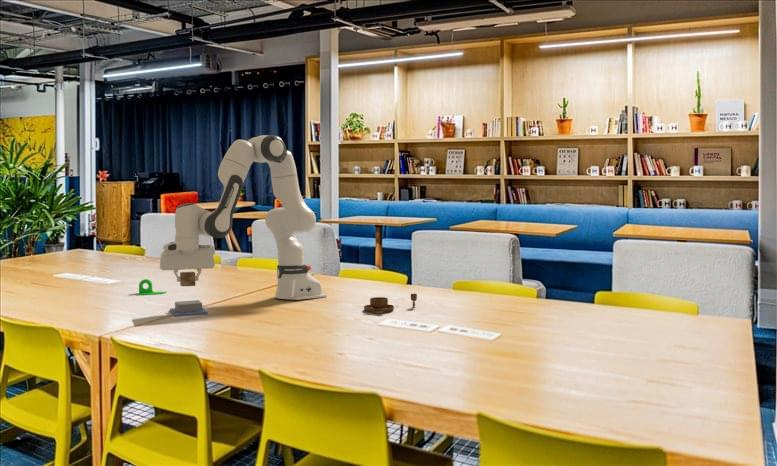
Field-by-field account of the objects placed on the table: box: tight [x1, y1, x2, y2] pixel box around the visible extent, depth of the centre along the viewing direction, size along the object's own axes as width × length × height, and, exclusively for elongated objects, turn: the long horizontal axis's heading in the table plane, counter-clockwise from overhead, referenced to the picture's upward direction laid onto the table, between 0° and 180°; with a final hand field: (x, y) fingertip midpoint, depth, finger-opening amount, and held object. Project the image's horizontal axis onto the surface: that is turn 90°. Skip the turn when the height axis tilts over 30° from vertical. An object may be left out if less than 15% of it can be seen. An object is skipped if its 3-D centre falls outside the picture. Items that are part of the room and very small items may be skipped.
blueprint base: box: [169, 299, 209, 317], centre depth 257 cm, size 12×16×4 cm
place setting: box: [363, 293, 418, 314], centre depth 260 cm, size 18×20×6 cm
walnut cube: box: [179, 271, 196, 287], centre depth 256 cm, size 5×5×5 cm
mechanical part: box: [137, 278, 168, 296], centre depth 302 cm, size 12×6×8 cm, turn 102°
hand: (187, 281), depth 256 cm, fingers closed on walnut cube, 5 cm apart
